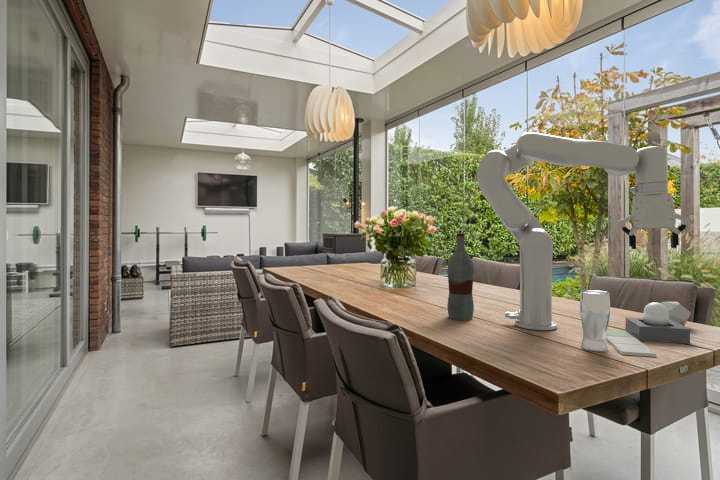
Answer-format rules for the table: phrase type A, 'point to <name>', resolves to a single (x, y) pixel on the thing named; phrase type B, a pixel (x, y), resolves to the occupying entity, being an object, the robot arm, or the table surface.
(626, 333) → the coaster
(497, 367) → the table surface
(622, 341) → the coaster
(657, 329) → the box
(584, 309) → the beer glass
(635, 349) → the coaster
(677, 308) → the die
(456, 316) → the bottle
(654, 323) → the dome
